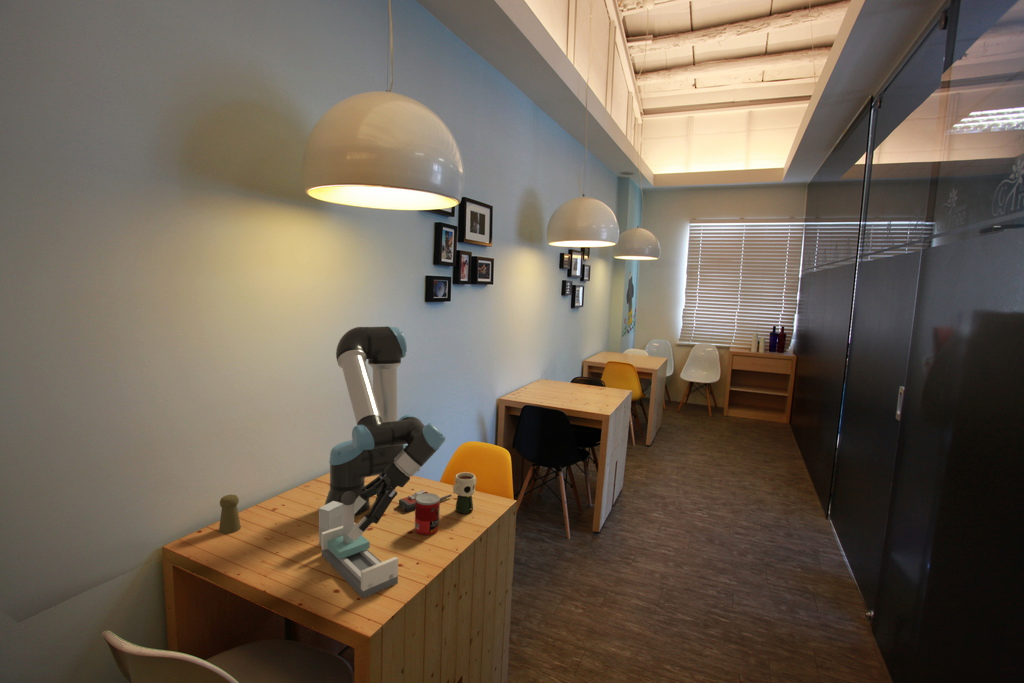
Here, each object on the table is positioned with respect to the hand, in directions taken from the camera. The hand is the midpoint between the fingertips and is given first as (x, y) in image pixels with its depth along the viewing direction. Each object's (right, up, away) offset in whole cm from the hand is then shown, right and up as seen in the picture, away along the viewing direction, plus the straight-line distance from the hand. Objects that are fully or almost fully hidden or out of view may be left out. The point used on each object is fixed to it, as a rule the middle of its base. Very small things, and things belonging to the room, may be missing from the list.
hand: (349, 526), depth 136 cm
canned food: (+19, -9, +21) cm, 29 cm away
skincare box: (-9, -9, +11) cm, 17 cm away
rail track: (+3, -11, -2) cm, 12 cm away
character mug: (+30, -8, +35) cm, 47 cm away
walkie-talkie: (+14, -7, +40) cm, 44 cm away
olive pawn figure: (-44, -7, +16) cm, 47 cm away
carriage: (-1, -7, +2) cm, 7 cm away
